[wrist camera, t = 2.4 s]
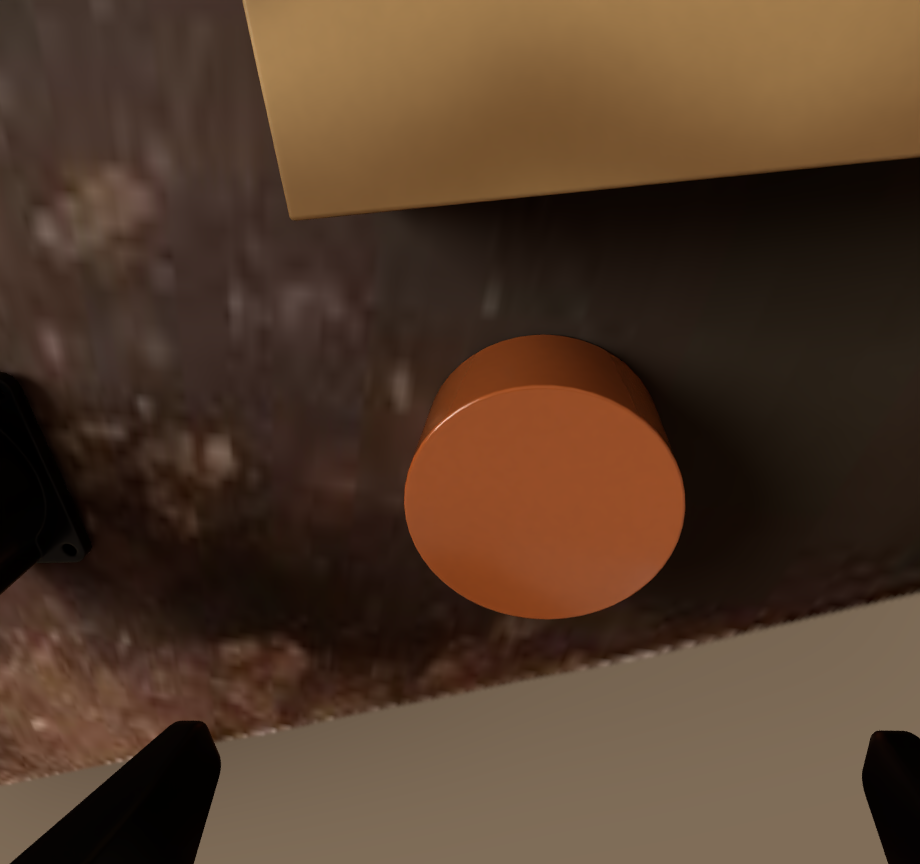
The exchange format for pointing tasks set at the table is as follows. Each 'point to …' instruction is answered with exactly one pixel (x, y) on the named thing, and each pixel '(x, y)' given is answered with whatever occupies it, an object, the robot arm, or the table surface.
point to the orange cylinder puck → (544, 480)
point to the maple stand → (574, 94)
